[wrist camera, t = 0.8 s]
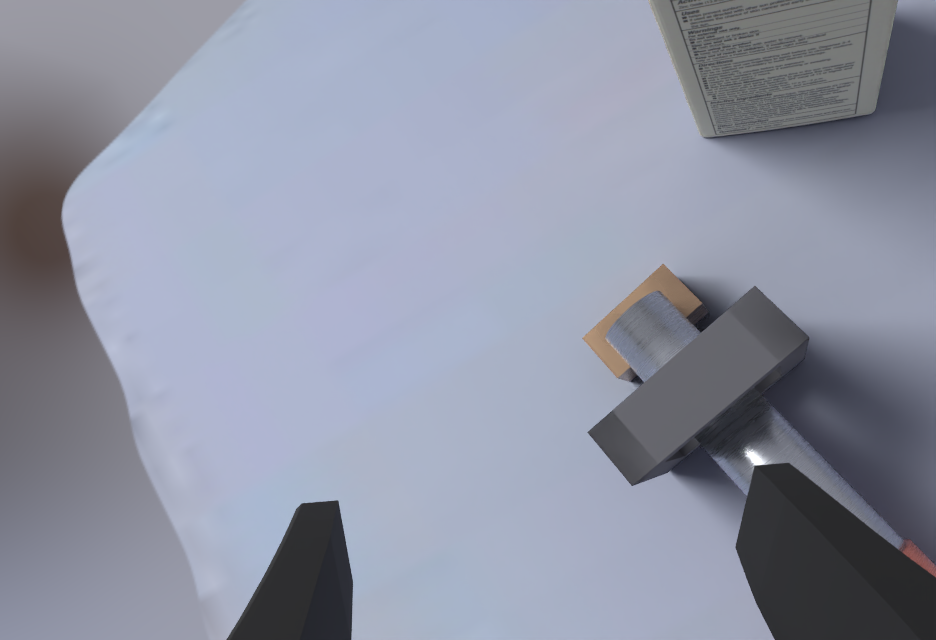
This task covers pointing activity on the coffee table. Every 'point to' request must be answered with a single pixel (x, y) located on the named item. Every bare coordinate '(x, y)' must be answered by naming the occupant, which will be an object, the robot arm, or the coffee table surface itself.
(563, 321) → the coffee table surface
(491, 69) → the coffee table surface
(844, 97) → the skincare box
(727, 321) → the grey square collar
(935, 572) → the pipe
